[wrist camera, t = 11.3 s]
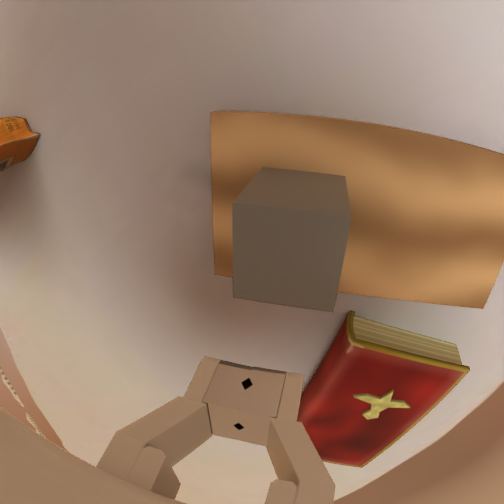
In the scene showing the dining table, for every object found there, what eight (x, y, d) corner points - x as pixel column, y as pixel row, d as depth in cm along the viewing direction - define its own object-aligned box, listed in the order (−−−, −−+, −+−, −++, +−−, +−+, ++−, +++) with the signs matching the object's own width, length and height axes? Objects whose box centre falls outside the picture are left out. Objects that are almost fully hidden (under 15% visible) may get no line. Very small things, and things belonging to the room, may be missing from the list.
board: (216, 111, 20) (210, 112, 19) (522, 160, 16) (531, 165, 15) (219, 266, 26) (215, 274, 25) (478, 299, 22) (483, 308, 20)
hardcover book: (279, 424, 36) (272, 452, 33) (348, 306, 25) (348, 342, 22) (363, 442, 35) (361, 469, 32) (460, 338, 24) (470, 372, 21)
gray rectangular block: (262, 167, 20) (232, 203, 14) (345, 176, 19) (351, 217, 13) (259, 240, 22) (233, 297, 17) (334, 250, 21) (333, 312, 16)
